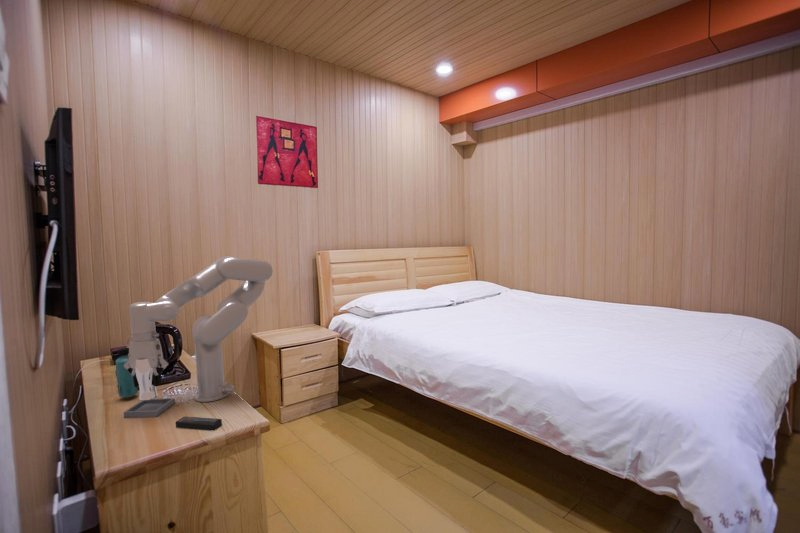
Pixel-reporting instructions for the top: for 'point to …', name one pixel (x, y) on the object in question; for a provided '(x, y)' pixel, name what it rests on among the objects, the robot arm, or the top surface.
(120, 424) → the top surface
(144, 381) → the beer glass
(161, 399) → the tray
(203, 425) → the multiport hub
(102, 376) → the top surface
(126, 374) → the beverage bottle
